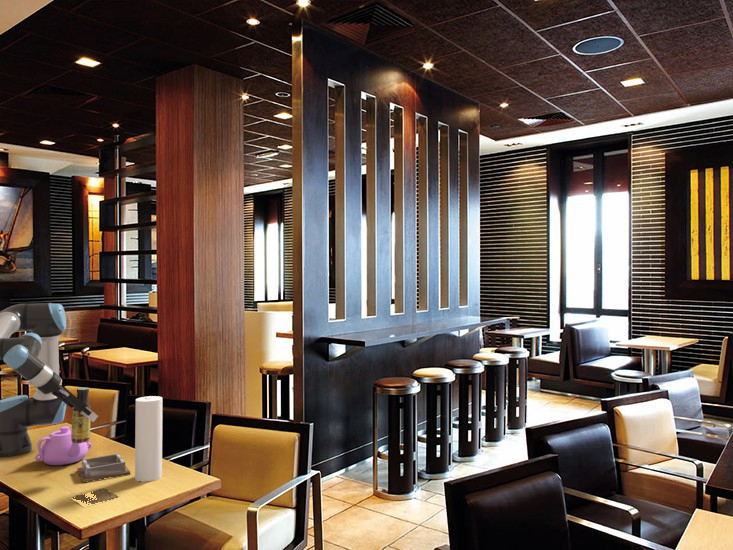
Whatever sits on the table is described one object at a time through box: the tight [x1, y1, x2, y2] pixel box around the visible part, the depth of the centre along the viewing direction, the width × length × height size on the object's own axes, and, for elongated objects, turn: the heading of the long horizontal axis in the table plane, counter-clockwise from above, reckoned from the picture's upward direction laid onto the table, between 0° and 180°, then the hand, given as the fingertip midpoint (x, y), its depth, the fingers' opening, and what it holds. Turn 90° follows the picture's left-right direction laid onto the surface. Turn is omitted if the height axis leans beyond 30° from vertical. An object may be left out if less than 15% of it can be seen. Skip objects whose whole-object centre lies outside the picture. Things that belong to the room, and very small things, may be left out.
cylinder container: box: [134, 395, 163, 483], centre depth 208 cm, size 9×9×30 cm
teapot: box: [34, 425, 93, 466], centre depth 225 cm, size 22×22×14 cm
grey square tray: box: [76, 453, 131, 483], centre depth 213 cm, size 16×16×4 cm
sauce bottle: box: [71, 387, 92, 443], centre depth 207 cm, size 6×6×20 cm
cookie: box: [70, 488, 120, 505], centre depth 188 cm, size 12×12×1 cm
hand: (91, 417), depth 209 cm, fingers closed on sauce bottle, 6 cm apart
